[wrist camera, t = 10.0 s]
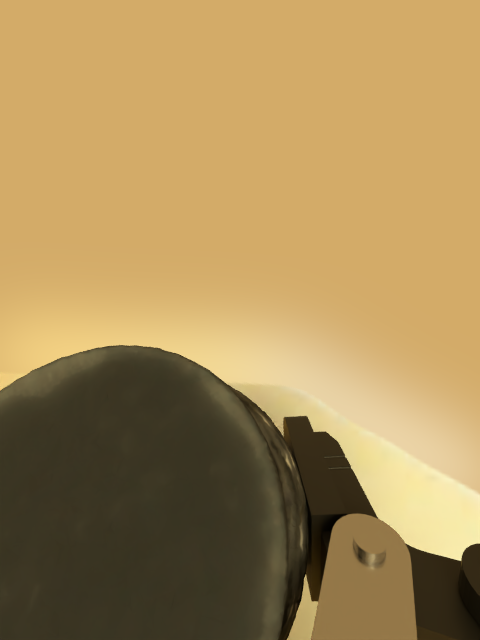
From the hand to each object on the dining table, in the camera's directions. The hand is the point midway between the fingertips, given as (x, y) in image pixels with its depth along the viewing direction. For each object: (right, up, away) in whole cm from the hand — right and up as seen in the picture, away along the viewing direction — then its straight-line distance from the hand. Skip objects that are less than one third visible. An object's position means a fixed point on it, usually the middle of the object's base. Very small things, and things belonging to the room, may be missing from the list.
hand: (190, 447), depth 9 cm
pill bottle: (0, -4, +3) cm, 5 cm away
